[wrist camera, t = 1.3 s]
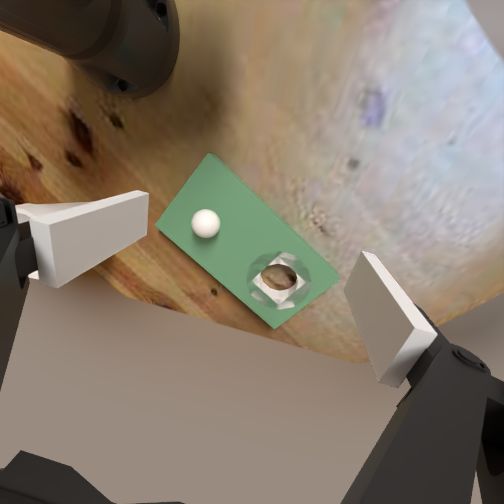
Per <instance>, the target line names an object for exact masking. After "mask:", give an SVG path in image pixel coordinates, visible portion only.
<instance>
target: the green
mask: <svg viewBox="0 0 504 504" xmlns="http://www.w3.org/2000/svg"><path fill="white" fill-rule="evenodd" d="M203 209H208V210H211V211H213V212H215V213H216V214H217V215H218V217H219V219H220V229H219V231H218V232H217V233H216V234H215V235H214V236H212V237H209V238H203V237H200V236H198V235H197V234H196V233H195V232H194V231H193V229H192V225H191V221H192V218H193V216H194V214H195V213H196V212H198V211H200V210H203ZM155 226H156V227H157V228H158V229H159V230H160V231H161V232H163V233H164V234H165V235H166V236H167V237H168V238H170V239H171V240H172V241H173V242H174V243H175V244H176V245H178V246H179V247H180V248H181V249H182V250H183V251H185V252H186V253H187V254H188V255H189V256H190V257H191V258H193V259H194V260H195V261H196V262H197V263H198V264H200V265H201V266H202V267H203V268H204V269H205V270H206V271H208V272H209V273H210V274H211V275H212V276H213V277H215V278H216V279H217V280H218V281H219V282H220V283H222V284H223V285H224V286H225V287H226V288H227V289H228V290H230V291H231V292H232V293H233V294H234V295H235V296H237V297H238V298H239V299H240V300H241V301H242V302H243V303H245V304H246V305H247V306H248V307H249V308H250V309H252V310H253V311H254V312H255V313H256V314H257V315H258V316H260V317H261V318H262V319H263V320H264V321H265V322H267V323H268V324H269V325H270V326H271V327H272V328H273V329H276V328H277V327H279V326H280V325H281V324H282V323H284V322H285V321H286V320H288V319H289V318H290V317H292V316H293V315H294V314H295V313H297V312H298V311H299V310H301V309H302V308H303V307H305V306H306V305H307V304H309V303H310V302H311V301H312V300H314V299H315V298H316V297H318V296H319V295H320V294H322V293H323V292H324V291H326V290H327V289H328V288H329V287H331V286H332V285H333V284H335V283H336V282H337V281H339V280H340V278H339V275H338V272H337V271H336V270H335V269H334V268H333V267H332V266H331V265H330V264H328V263H327V262H326V261H325V260H324V259H323V258H322V257H321V256H320V255H319V254H318V253H317V252H316V251H315V250H314V249H313V248H312V247H311V246H310V245H309V244H308V243H307V242H306V241H304V240H303V239H302V238H301V237H300V236H299V235H298V234H297V233H296V232H295V231H294V230H293V229H292V228H291V227H290V226H289V225H288V224H287V223H286V222H285V221H284V220H283V219H282V218H280V217H279V216H278V215H277V214H276V213H275V212H274V211H273V210H272V209H271V208H270V207H269V206H268V205H267V204H266V203H265V202H264V201H263V200H262V199H261V198H260V197H259V196H258V195H257V194H255V193H254V192H253V191H252V190H251V189H250V188H249V187H248V186H247V185H246V184H245V183H244V182H243V181H242V180H241V179H240V178H239V177H238V176H237V175H236V174H235V173H234V172H233V171H231V170H230V169H229V168H228V167H227V166H226V165H225V164H224V163H223V162H222V161H221V160H220V159H219V158H218V157H217V156H216V155H215V154H214V153H208V154H207V155H206V156H205V158H204V159H203V160H202V162H201V163H200V164H199V166H198V167H197V169H196V170H195V171H194V173H193V174H192V175H191V177H190V178H189V179H188V181H187V182H186V183H185V185H184V186H183V187H182V189H181V190H180V191H179V193H178V194H177V195H176V197H175V198H174V200H173V201H172V202H171V204H170V205H169V206H168V208H167V209H166V210H165V212H164V213H163V214H162V216H161V217H160V218H159V220H158V221H157V222H156V224H155ZM273 264H282V265H286V266H289V267H290V268H291V269H292V270H293V271H294V272H295V273H296V275H297V280H296V283H295V284H294V285H293V286H292V287H290V288H289V289H286V290H281V291H278V290H274V289H270V288H269V287H268V286H267V285H266V284H265V283H263V280H262V277H261V272H262V271H263V270H264V269H265V268H266V267H267V266H269V265H273Z"/></svg>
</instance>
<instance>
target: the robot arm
mask: <svg viewBox="0 0 504 504" xmlns="http://www.w3.org/2000/svg"><path fill="white" fill-rule="evenodd" d="M0 30H1V31H4V32H6V33H9V34H11V35H13V36H16V37H18V38H20V39H23V40H25V41H28V42H30V43H32V44H35V45H37V46H39V47H42V48H44V49H46V50H49V51H51V52H54V53H56V54H58V55H60V56H62V57H63V58H64V59H65V60H66V61H67V62H68V63H70V64H71V65H72V66H73V67H74V68H75V69H76V70H77V71H78V72H80V73H81V74H82V75H83V76H84V77H85V78H86V79H87V80H89V81H90V82H91V83H93V84H94V85H96V86H97V87H99V88H101V89H102V90H104V91H107V92H109V93H112V94H115V95H118V96H121V97H125V98H139V97H143V96H146V95H149V94H150V93H152V92H154V91H155V90H157V89H158V88H159V87H160V86H161V85H162V84H163V83H164V82H165V80H166V79H167V78H168V76H169V74H170V72H171V71H172V68H173V66H174V63H175V60H176V57H177V53H178V47H179V19H178V13H177V9H176V5H175V1H174V0H0ZM148 202H149V193H146V192H142V191H138V190H136V191H132V192H128V193H125V194H121V195H117V196H113V197H110V198H106V199H102V200H99V201H95V202H91V203H87V204H84V205H80V206H76V207H73V208H69V209H65V210H61V211H58V212H54V213H50V214H47V215H43V216H39V217H35V218H32V219H29V221H27V222H23V223H20V224H18V218H17V213H16V208H15V202H14V201H12V200H10V199H6V198H1V197H0V390H1V386H2V383H3V379H4V375H5V372H6V368H7V364H8V361H9V357H10V353H11V350H12V346H13V342H14V339H15V335H16V331H17V328H18V324H19V320H20V317H21V313H22V309H23V306H24V302H25V298H26V295H27V291H28V287H29V284H30V282H29V277H28V275H29V274H31V273H33V272H35V271H37V270H38V276H39V282H40V283H41V284H44V285H47V286H51V287H55V288H59V287H60V286H62V285H64V284H65V283H67V282H69V281H71V280H72V279H74V278H76V277H77V276H79V275H81V274H82V273H84V272H85V271H87V270H89V269H91V268H92V267H94V266H96V265H97V264H99V263H101V262H102V261H104V260H106V259H107V258H109V257H111V256H112V255H114V254H116V253H117V252H119V251H121V250H122V249H124V248H126V247H127V246H129V245H131V244H132V243H134V242H136V241H137V240H139V239H141V238H142V237H144V236H146V235H147V222H148ZM344 292H345V295H346V298H347V300H348V303H349V306H350V308H351V311H352V314H353V316H354V319H355V322H356V324H357V327H358V330H359V332H360V335H361V338H362V340H363V343H364V346H365V348H366V351H367V354H368V356H369V359H370V362H371V364H372V367H373V370H374V372H375V375H376V378H377V381H378V383H382V384H385V385H388V386H392V387H396V388H399V386H400V385H401V384H402V382H403V381H404V380H405V378H406V377H407V379H408V381H409V383H410V385H411V388H410V389H409V391H408V392H407V393H406V395H405V396H404V397H403V398H402V400H401V401H400V402H399V404H398V405H397V406H396V407H397V410H396V411H395V413H394V415H393V416H392V418H391V420H390V421H389V423H388V425H387V426H386V428H385V430H384V432H383V433H382V435H381V437H380V438H379V440H378V442H377V443H376V445H375V447H374V448H373V450H372V452H371V453H370V455H369V457H368V458H367V460H366V462H365V463H364V465H363V467H362V468H361V470H360V472H359V474H358V475H357V477H356V478H355V480H354V482H353V484H352V485H351V487H350V488H349V490H348V492H347V493H346V495H345V497H344V499H343V500H342V502H341V504H470V503H471V496H472V490H473V483H474V478H475V471H476V472H477V477H478V482H479V487H480V493H481V499H482V504H504V382H503V381H501V380H499V379H497V378H495V377H493V376H491V373H490V369H489V368H488V367H487V366H486V364H485V363H484V362H483V361H482V360H480V359H479V358H478V357H477V356H475V355H474V354H472V353H471V352H469V351H467V350H466V349H464V348H462V347H460V346H457V345H454V344H450V343H449V342H448V340H447V339H446V338H445V337H444V336H443V335H442V333H441V332H440V331H439V329H438V328H437V327H436V326H434V323H433V322H432V321H431V320H430V319H429V317H428V316H427V315H426V314H425V312H424V311H423V310H422V309H421V308H419V307H418V306H417V305H416V304H414V303H413V302H412V301H411V300H410V299H409V297H408V296H407V295H406V294H405V292H404V291H403V290H402V289H401V287H400V286H399V285H398V284H397V282H396V281H395V280H394V278H393V277H392V276H391V275H390V273H389V272H388V271H387V270H386V268H385V267H384V266H383V265H382V263H381V262H380V261H379V259H378V258H377V257H376V256H375V255H374V254H371V253H367V252H363V251H362V252H361V254H360V256H359V258H358V260H357V262H356V264H355V266H354V269H353V271H352V273H351V275H350V277H349V279H348V281H347V283H346V286H345V288H344ZM0 504H115V503H113V502H111V501H110V500H108V499H107V498H106V497H105V496H104V495H103V494H102V493H100V492H99V491H98V490H97V489H96V488H95V487H94V486H92V485H91V484H90V483H89V482H88V481H87V480H86V479H85V478H83V477H82V476H81V475H80V474H79V473H78V472H77V471H75V470H74V469H73V468H72V467H71V466H67V465H65V464H61V463H58V462H55V461H52V460H49V459H46V458H43V457H40V456H37V455H34V454H31V453H27V452H25V451H20V452H19V453H18V454H17V455H16V456H15V457H14V458H13V459H12V461H11V462H10V463H9V464H8V465H7V466H6V467H5V468H2V469H0ZM138 504H184V503H181V502H160V503H138Z"/></svg>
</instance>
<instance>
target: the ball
mask: <svg viewBox="0 0 504 504" xmlns="http://www.w3.org/2000/svg"><path fill="white" fill-rule="evenodd" d="M191 225H192V229H193V231H194V232H195V233H196V234H197V235H198V236H200V237H203V238H209V237H212V236H214V235H215V234H216V233H217V232H218V231H219V229H220V219H219V217H218V215H217V214H216V213H215V212H213V211H211V210H208V209H203V210H200V211H198V212H196V213H195V214H194V216H193V218H192V221H191Z"/></svg>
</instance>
